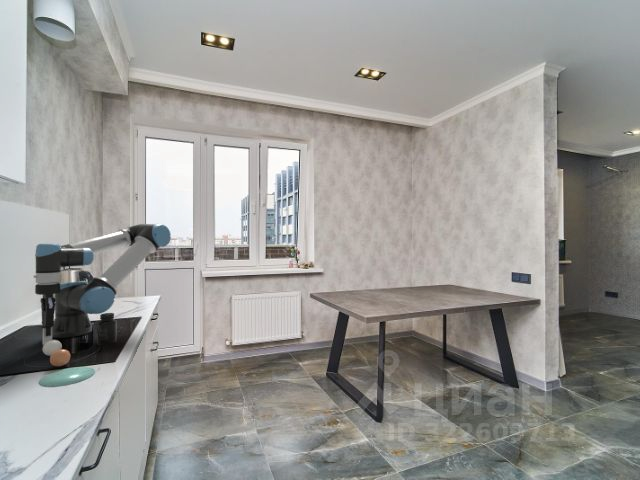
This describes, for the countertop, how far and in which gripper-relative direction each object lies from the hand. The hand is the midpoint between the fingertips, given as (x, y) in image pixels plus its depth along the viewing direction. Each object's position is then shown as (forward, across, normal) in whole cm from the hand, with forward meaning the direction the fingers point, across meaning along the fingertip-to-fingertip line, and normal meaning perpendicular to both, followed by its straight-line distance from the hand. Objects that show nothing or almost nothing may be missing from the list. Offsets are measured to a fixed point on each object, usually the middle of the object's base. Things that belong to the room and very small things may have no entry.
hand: (47, 343), depth 127 cm
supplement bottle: (+2, +8, +18) cm, 20 cm away
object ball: (-1, +24, 0) cm, 24 cm away
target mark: (+2, +36, 0) cm, 36 cm away
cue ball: (-1, +10, 0) cm, 10 cm away
